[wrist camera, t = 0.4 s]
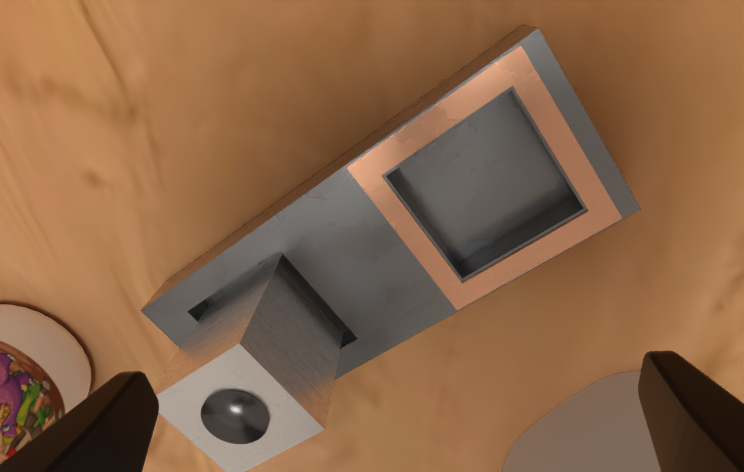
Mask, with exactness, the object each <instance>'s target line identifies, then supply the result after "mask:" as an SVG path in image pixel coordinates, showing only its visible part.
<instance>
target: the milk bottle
mask: <svg viewBox="0 0 744 472" xmlns="http://www.w3.org/2000/svg"><path fill="white" fill-rule="evenodd" d="M90 384H91V367H90V364H89V361H88V357H87V356H86V354H85V352H84V350H83V348H82V347H81V345H80V344H79V343H78V341H77V340H76V339H75V337H74V336H73V335H71V334H70V333H69V332H68V331H67V330H66V329H65V328H64V327H63V326H61V325H60V324H58V323H57V322H56V321H54V320H53V319H51V318H49V317H47V316H45V315H43V314H42V313H40V312H37V311H34V310H31V309H29V308H26V307H21V306H16V305H11V304H0V464H1V463H2V462H4V461H5V460H6V459H8V458H9V457H10V456H11V455H13V454H14V453H15V452H17V451H18V450H19V449H21V448H22V447H23V446H24V445H26V444H27V443H28V442H30V441H31V440H32V439H34V438H35V437H36V436H37V435H39V434H40V433H41V432H43V431H44V430H45V429H47V428H48V427H49V426H50V425H52V424H53V423H54V422H56V421H57V420H58V419H60V418H61V417H62V416H63V415H65V414H66V413H67V412H69V411H70V410H71V409H73V408H74V407H75V406H76V405H78V404H79V403H80V402H82V401H83V400H84V399H86V398H87V396H88V393H89V390H90Z"/></svg>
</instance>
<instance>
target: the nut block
mask: <svg viewBox="0 0 744 472" xmlns="http://www.w3.org/2000/svg"><path fill="white" fill-rule="evenodd" d="M344 325H345V324H344V322H343V321H342V320H341V319H340V318H339V317H338V316H337V315H336V313H335V312H334V311H333V310H332V309H331V308H330V307H329V305H328V304H327V303H326V302H325V301H324V300H323V299H322V298H321V296H320V295H319V294H318V293H317V292H316V291H315V290H314V288H313V287H312V286H311V285H310V284H309V283H308V282H307V280H306V279H305V278H304V277H303V276H302V275H301V274H300V273H299V271H298V270H297V269H296V268H295V267H294V266H293V265H292V263H291V262H290V261H289V260H288V259H287V258H286V257H285V256H284V254H283V253H282V252H281V251H280V252H279V253H277V254H276V255H274V256H273V257H271V258H270V259H268V260H267V261H265V262H264V263H262V264H261V265H259V266H258V267H257V268H255V269H254V270H252V271H251V272H249V273H248V274H246V275H245V276H243V277H242V278H240V279H239V280H237V281H236V282H234V283H233V284H231V285H230V286H229V287H227V288H226V289H224V290H223V291H221V292H220V293H218V294H217V295H215V296H214V297H213V299H212V300H211V302H210V303H209V305H208V307H207V308H206V310H205V311H204V313H203V314H202V316H201V317H200V319H199V321H198V322H197V324H196V325H195V327H194V328H193V330H192V331H191V333H190V335H189V336H188V338H187V339H186V341H185V342H184V344H183V345H182V347H181V348H180V350H179V352H178V353H177V355H176V356H175V358H174V359H173V361H172V362H171V364H170V366H169V367H168V369H167V370H166V372H165V373H164V375H163V376H162V378H161V380H160V381H159V383H158V384H157V386H156V387H155V389H154V392H155V394H156V396H157V398H158V401H159V412H158V413H160V414H161V415H162V416H163V417H164V418H165V419H166V420H168V421H169V422H170V423H171V424H172V425H173V426H174V427H176V428H177V429H178V430H179V431H180V432H181V433H182V434H183V435H185V436H186V437H187V438H188V439H189V440H190V441H191V442H193V443H194V444H195V445H196V446H197V447H198V448H199V449H200V450H202V451H203V452H204V453H205V454H206V455H207V456H208V457H210V458H211V459H212V460H213V461H214V462H215V463H216V464H217V465H219V466H220V467H221V468H222V469H223V470H224V471H225V472H246V471H248V470H249V469H251V468H253V467H255V466H257V465H259V464H261V463H263V462H265V461H267V460H269V459H270V458H272V457H274V456H276V455H278V454H280V453H282V452H284V451H286V450H288V449H290V448H292V447H293V446H295V445H297V444H299V443H301V442H303V441H305V440H307V439H309V438H311V437H313V436H314V435H316V434H318V433H320V432H322V431H324V430H325V428H326V422H327V417H328V411H329V406H330V401H331V395H332V390H333V385H334V379H335V374H336V368H337V363H338V358H339V352H340V347H341V342H342V336H343V331H344Z"/></svg>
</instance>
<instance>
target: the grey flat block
mask: <svg viewBox="0 0 744 472" xmlns="http://www.w3.org/2000/svg"><path fill="white" fill-rule="evenodd" d="M640 209H641V208H640V206H639V205H638V203H637V201H636V199H635V198H634V196H633V194H632V192H631V191H630V189H629V187H628V185H627V183H626V182H625V180H624V178H623V176H622V175H621V173H620V171H619V169H618V168H617V166H616V164H615V162H614V160H613V159H612V157H611V155H610V153H609V152H608V150H607V148H606V146H605V145H604V143H603V141H602V139H601V137H600V136H599V134H598V132H597V130H596V129H595V127H594V125H593V123H592V122H591V120H590V118H589V116H588V114H587V113H586V111H585V109H584V107H583V106H582V104H581V102H580V100H579V98H578V97H577V95H576V93H575V91H574V90H573V88H572V86H571V84H570V83H569V81H568V79H567V77H566V75H565V74H564V72H563V70H562V68H561V67H560V65H559V63H558V61H557V60H556V58H555V56H554V54H553V52H552V51H551V49H550V47H549V45H548V44H547V42H546V40H545V38H544V37H543V35H542V33H541V31H540V29H539V28H536V27H531V26H527V25H522V26H521V27H519V28H518V29H517V30H515V31H514V32H512V33H511V34H510V35H508V36H507V37H505V38H504V39H503V40H501V41H500V42H498V43H497V44H496V45H494V46H493V47H491V48H490V49H489V50H487V51H486V52H485V53H483V54H482V55H480V56H479V57H478V58H476V59H475V60H473V61H472V62H471V63H469V64H468V65H466V66H465V67H464V68H462V69H461V70H459V71H458V72H457V73H455V74H454V75H453V76H451V77H450V78H448V79H447V80H446V81H444V82H443V83H441V84H440V85H439V86H437V87H436V88H434V89H433V90H432V91H430V92H429V93H427V94H426V95H425V96H423V97H422V98H421V99H419V100H418V101H416V102H415V103H414V104H412V105H411V106H409V107H408V108H407V109H405V110H404V111H402V112H401V113H400V114H398V115H397V116H395V117H394V118H393V119H391V120H390V121H389V122H387V123H386V124H384V125H383V126H382V127H380V128H379V129H377V130H376V131H375V132H373V133H372V134H370V135H369V136H368V137H366V138H365V139H363V140H362V141H361V142H359V143H358V144H357V145H355V146H354V147H352V148H351V149H350V150H348V151H347V152H345V153H344V154H343V155H341V156H340V157H338V158H337V159H336V160H334V161H333V162H332V163H330V164H329V165H327V166H326V167H325V168H323V169H322V170H320V171H319V172H318V173H316V174H315V175H313V176H312V177H311V178H309V179H308V180H306V181H305V182H304V183H302V184H301V185H300V186H298V187H297V188H295V189H294V190H293V191H291V192H290V193H288V194H287V195H286V196H284V197H283V198H281V199H280V200H279V201H277V202H276V203H274V204H273V205H272V206H270V207H269V208H268V209H266V210H265V211H263V212H262V213H261V214H259V215H258V216H256V217H255V218H254V219H252V220H251V221H249V222H248V223H247V224H245V225H244V226H242V227H241V228H240V229H238V230H237V231H236V232H234V233H233V234H231V235H230V236H229V237H227V238H226V239H224V240H223V241H222V242H220V243H219V244H217V245H216V246H215V247H213V248H212V249H210V250H209V251H208V252H206V253H205V254H204V255H202V256H201V257H199V258H198V259H197V260H195V261H194V262H192V263H191V264H190V265H188V266H187V267H185V268H184V269H183V270H181V271H180V272H178V273H177V274H176V275H174V276H173V277H172V278H170V279H169V280H167V281H166V282H165V283H164V284H163V285H162V286H161V287H160V288H159V290H158V291H157V292H156V293H155V294H154V295H153V297H152V298H151V299H150V300H149V301H148V303H147V304H146V305H145V306H144V307H143V308H142V310H141V311H142V312H143V313H144V314H145V315H146V316H147V317H148V318H149V319H150V320H151V321H152V322H153V323H154V324H155V325H156V326H157V327H158V328H159V329H160V330H162V331H163V332H164V333H165V334H166V335H167V336H168V337H169V338H170V339H171V340H172V341H173V342H174V343H175V344H176V345H177V346H178V347H179V348H181V347H182V345H183V344H184V342H185V341H186V339H187V338H188V336H189V335H190V333H191V331H192V330H193V328H194V327H195V325H196V324H197V322H198V321H199V319H200V317H201V316H202V314H203V313H204V311H205V310H206V308H207V307H208V305H209V303H210V302H211V300H212V299H213V297H214V296H215V295H217V294H218V293H220V292H221V291H223V290H224V289H226V288H227V287H229V286H230V285H231V284H233V283H234V282H236V281H237V280H239V279H240V278H242V277H243V276H245V275H246V274H248V273H249V272H251V271H252V270H254V269H255V268H257V267H258V266H259V265H261V264H262V263H264V262H265V261H267V260H268V259H270V258H271V257H273V256H274V255H276V254H277V253H279V252H280V251H281V252H282V253H283V254H284V256H285V257H286V258H287V259H288V260H289V261H290V262H291V263H292V265H293V266H294V267H295V268H296V269H297V270H298V271H299V273H300V274H301V275H302V276H303V277H304V278H305V279H306V280H307V282H308V283H309V284H310V285H311V286H312V287H313V288H314V290H315V291H316V292H317V293H318V294H319V295H320V296H321V298H322V299H323V300H324V301H325V302H326V303H327V304H328V305H329V307H330V308H331V309H332V310H333V311H334V312H335V313H336V315H337V316H338V317H339V318H340V319H341V320H342V321H343V322H344V324H345V325H344V331H343V336H342V342H341V347H340V352H339V358H338V363H337V368H336V374H335V379H336V378H338V377H340V376H342V375H344V374H345V373H347V372H349V371H351V370H353V369H354V368H356V367H358V366H360V365H362V364H363V363H365V362H367V361H369V360H371V359H372V358H374V357H376V356H378V355H380V354H381V353H383V352H385V351H387V350H389V349H390V348H392V347H394V346H396V345H398V344H399V343H401V342H403V341H405V340H407V339H408V338H410V337H412V336H414V335H416V334H417V333H419V332H421V331H423V330H425V329H426V328H428V327H430V326H432V325H434V324H435V323H437V322H439V321H441V320H443V319H444V318H446V317H448V316H450V315H451V314H453V313H455V312H457V311H459V310H460V309H462V308H464V307H466V306H468V305H469V304H471V303H473V302H475V301H477V300H478V299H480V298H482V297H484V296H486V295H487V294H489V293H491V292H493V291H495V290H496V289H498V288H500V287H502V286H504V285H505V284H507V283H509V282H511V281H513V280H514V279H516V278H518V277H520V276H522V275H523V274H525V273H527V272H529V271H531V270H532V269H534V268H536V267H538V266H540V265H541V264H543V263H545V262H547V261H549V260H550V259H552V258H554V257H556V256H558V255H559V254H561V253H563V252H565V251H567V250H568V249H570V248H572V247H574V246H575V245H577V244H579V243H581V242H583V241H584V240H586V239H588V238H590V237H592V236H593V235H595V234H597V233H599V232H601V231H602V230H604V229H606V228H608V227H610V226H611V225H613V224H615V223H617V222H619V221H620V220H622V219H624V218H626V217H628V216H629V215H631V214H633V213H635V212H637V211H638V210H640ZM335 379H334V380H335Z"/></svg>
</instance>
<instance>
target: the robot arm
mask: <svg viewBox="0 0 744 472" xmlns="http://www.w3.org/2000/svg"><path fill="white" fill-rule="evenodd" d="M638 395H639V400H640V403H641V406H642V410H643V413H644V416H645V420H646V423H647V426H648V430H649V433H650V436H651V440H652V443H653V446H654V450H655V453H656V456H657V459H658V463H659V466H660V469H661V472H744V403H742V402H741V401H740V400H738V399H737V398H736V397H734V396H733V395H732V394H730V393H729V392H728V391H726V390H725V389H724V388H722V387H721V386H720V385H718V384H717V383H716V382H715V381H713V380H712V379H711V378H709V377H708V376H707V375H705V374H704V373H703V372H701V371H700V370H699V369H697V368H696V367H695V366H693V365H692V364H691V363H689V362H688V361H687V360H685V359H684V358H683V357H681V356H680V355H679V354H677V353H675V352H673V351H650V352H647V353H646V354H645V356H644V359H643V363H642V368H641V373H640V378H639V382H638ZM158 412H159V401H158V398H157V396H156V394H155V392H154V390H153V388H152V387H151V385H150V383H149V381H148V379H147V377H146V375H145V374H144V373H142V372H140V371H132V372H121V373H119V374H117V375H116V376H114V377H113V378H112V379H110V380H109V381H108V382H106V383H105V384H104V385H102V386H101V387H100V388H99V389H97V390H96V391H95V392H93V393H92V394H91V395H89V396H88V397H87V398H86V399H84V400H83V401H82V402H80V403H79V404H78V405H76V406H75V407H74V408H73V409H71V410H70V411H69V412H67V413H66V414H65V415H63V416H62V417H61V418H60V419H58V420H57V421H56V422H54V423H53V424H52V425H50V426H49V427H48V428H47V429H45V430H44V431H43V432H41V433H40V434H39V435H37V436H36V437H35V438H34V439H32V440H31V441H30V442H28V443H27V444H26V445H24V446H23V447H22V448H21V449H19V450H18V451H17V452H15V453H14V454H13V455H11V456H10V457H9V458H8V459H6V460H5V461H4V462H2V463H1V464H0V472H142V470H143V466H144V463H145V459H146V455H147V452H148V448H149V445H150V441H151V438H152V434H153V430H154V427H155V423H156V420H157V416H158Z"/></svg>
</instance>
